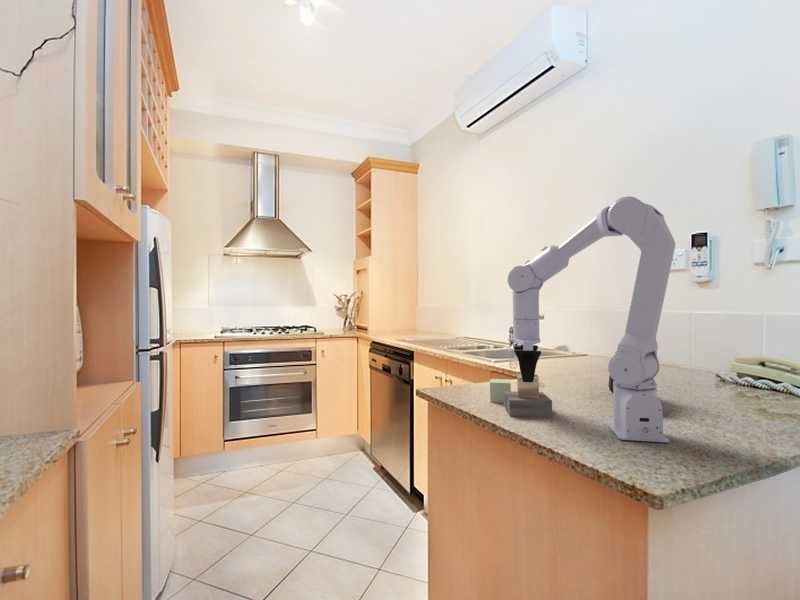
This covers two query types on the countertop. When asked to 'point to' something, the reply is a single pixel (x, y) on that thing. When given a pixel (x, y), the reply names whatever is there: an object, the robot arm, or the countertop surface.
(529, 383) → the birch cube
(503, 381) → the sage cube
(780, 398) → the countertop surface
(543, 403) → the charcoal slab
